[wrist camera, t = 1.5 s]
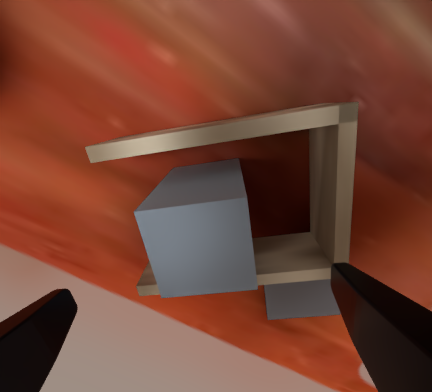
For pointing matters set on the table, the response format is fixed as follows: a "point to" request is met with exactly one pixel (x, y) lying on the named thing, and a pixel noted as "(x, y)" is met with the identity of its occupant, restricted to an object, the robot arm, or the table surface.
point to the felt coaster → (300, 299)
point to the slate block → (199, 231)
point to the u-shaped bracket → (319, 184)
